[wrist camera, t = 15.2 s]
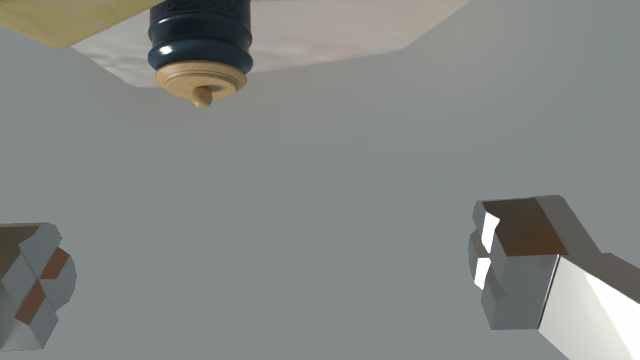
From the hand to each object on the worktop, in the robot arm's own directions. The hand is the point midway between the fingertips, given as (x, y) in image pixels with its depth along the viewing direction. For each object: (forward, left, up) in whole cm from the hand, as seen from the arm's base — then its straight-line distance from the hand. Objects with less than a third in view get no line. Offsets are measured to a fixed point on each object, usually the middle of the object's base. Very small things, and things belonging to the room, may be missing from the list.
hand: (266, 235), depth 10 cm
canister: (+39, -33, -38) cm, 64 cm away
